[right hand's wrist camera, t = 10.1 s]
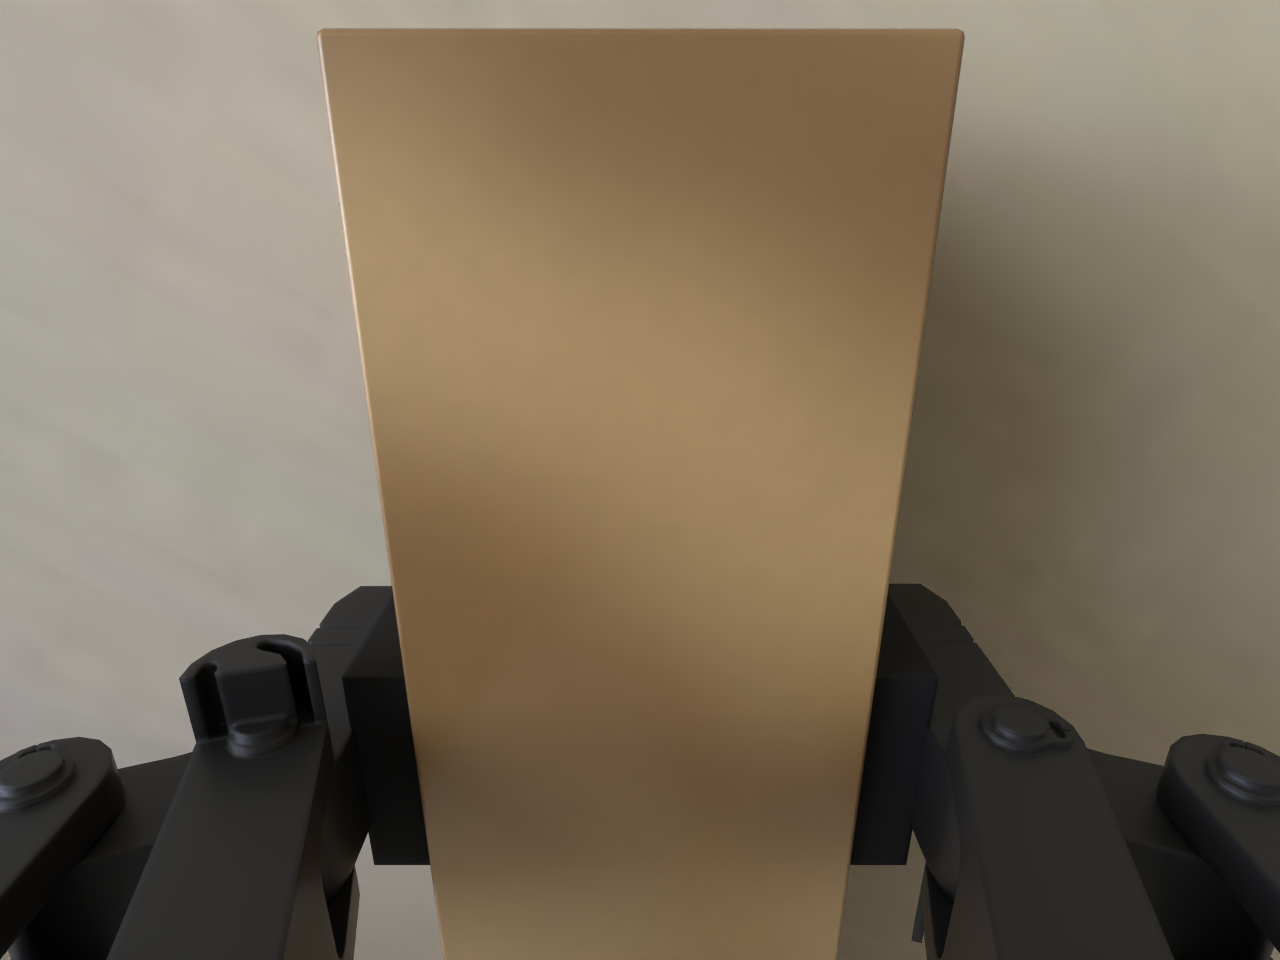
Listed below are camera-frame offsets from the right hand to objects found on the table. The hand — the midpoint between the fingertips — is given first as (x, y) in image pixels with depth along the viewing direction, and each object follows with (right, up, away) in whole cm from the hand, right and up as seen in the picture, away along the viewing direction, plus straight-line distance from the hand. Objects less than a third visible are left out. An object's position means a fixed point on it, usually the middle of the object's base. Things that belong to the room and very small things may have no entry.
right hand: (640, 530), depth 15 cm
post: (0, -18, +8) cm, 20 cm away
